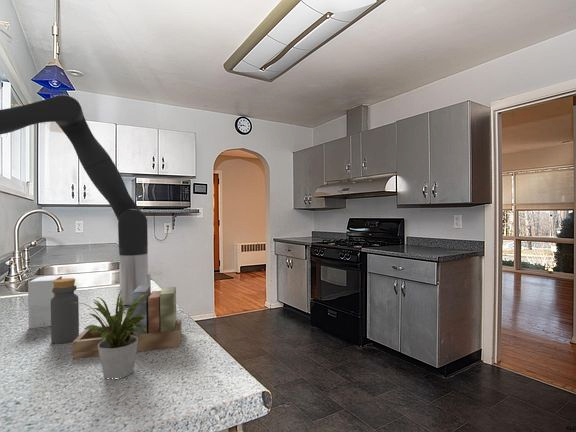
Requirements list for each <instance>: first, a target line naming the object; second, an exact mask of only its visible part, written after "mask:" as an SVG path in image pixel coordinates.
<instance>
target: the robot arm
mask: <svg viewBox="0 0 576 432" xmlns="http://www.w3.org/2000/svg"><path fill="white" fill-rule="evenodd" d="M52 122H55V123H56V125H57V126H58V127H59V128H60V129H61V131H62V132H63V133H64V135H65V136H66V138H67V139H68V140H69V141H70V143H71V145H72V147H73V149H74V151H75V154H76V156H77V158H78V160H79V162H80V164H81V166H82V168H83V170H84V171H85V173H86V175H87V176H88V178H89V179H90V181H91V182H92V184H93V185H94V186H95V188H96V189H97V190H98V192H99V193H100V194H101V195H102V196H103V198H104V199H105V200H106V201H107V202H108V203H109V206H110V207H111V209H112V211H113V212H114V215H115V217H116V219H117V221H118V222H117V230H118V232H117V235H118V252H119V253H118V258H119V260H118V261H119V292H120V291H121V290H122V291H121V294H120V297H121V298H122V300H123V304H124V306H132V304H133V295H132V294H133V292H134V290H135V289H136V288H137V287H138V286H145V285H150V288H151V289H152V283H151V281H152V279H151V274H150V273H149V258H148V257H149V256H148V253H149V252H148V249H149V248H148V245H149V243H148V239H149V237H148V219H147V216H146V215H145V213H144V212H143V211H141V209H140V208H139V206H138V205H137V204H136V201H135V202H134V200H133V198H132V197H131V195H130V194H129V191H128V189H127V186H126V184H125V182H124V179H123V178H122V175H121V173H120V171H119V169H118V167H117V166H116V163H114V161H113V160H112V158H111V156H110V154H109V153H108V152H107V151H106V149H105V148H104V147H103V145H101V143H100V142H99V141H98V140H97V138H96V137H95V136H94V135H93V133H92V131H91V129H90V126H89V125H88V122H87V119H86V118H85V115H84V112H83V108H82V106H81V104H80V102H79V100H77V99H76V98H74V97H73V96H71V95H69V94H58V95H55V96H52V97H49V98H45V99H41V100H39V101H35V102H31V103H28V104H23V105H18V106H15V107H14V106H13V107H8V108H1V109H0V135H4V134H5V135H6V134H8V133H13V132H16V131H18V130H21V129H24V128H27V127H29V126H32V125H33V126H34V125H37V124H42V123H52ZM131 295H132V296H131ZM130 296H131V297H130ZM120 297H119V298H120ZM129 297H130V298H129ZM128 298H129V299H128ZM127 299H128V300H127ZM126 300H127V301H126ZM125 301H126V302H125ZM124 302H125V303H124Z"/></svg>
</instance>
